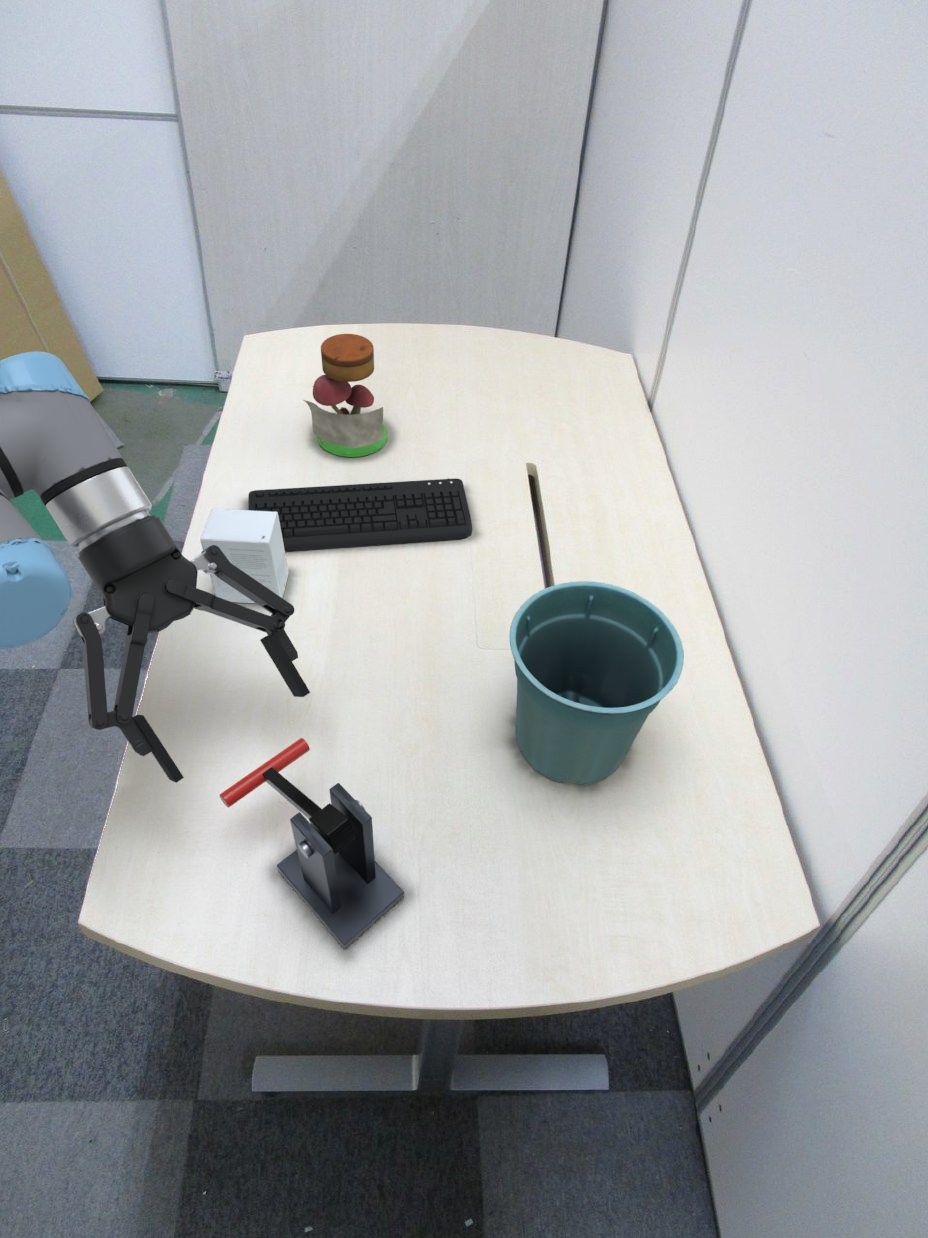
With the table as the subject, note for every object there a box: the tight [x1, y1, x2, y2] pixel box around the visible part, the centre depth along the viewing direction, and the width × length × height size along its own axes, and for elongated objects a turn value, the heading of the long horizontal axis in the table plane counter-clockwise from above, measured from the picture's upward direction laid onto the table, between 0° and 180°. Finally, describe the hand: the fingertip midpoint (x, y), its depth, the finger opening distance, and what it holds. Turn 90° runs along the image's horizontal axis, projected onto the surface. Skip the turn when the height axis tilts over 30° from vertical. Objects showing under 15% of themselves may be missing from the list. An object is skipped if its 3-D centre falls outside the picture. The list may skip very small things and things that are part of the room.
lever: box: [219, 737, 356, 854], centre depth 69 cm, size 13×9×2 cm
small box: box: [199, 507, 290, 604], centre depth 94 cm, size 8×6×10 cm
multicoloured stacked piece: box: [302, 333, 388, 458], centre depth 115 cm, size 12×13×15 cm
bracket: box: [276, 782, 405, 950], centre depth 68 cm, size 10×7×13 cm
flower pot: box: [508, 580, 685, 786], centre depth 80 cm, size 16×16×16 cm
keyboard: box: [247, 478, 473, 553], centre depth 107 cm, size 30×11×2 cm, turn 99°
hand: (242, 735), depth 73 cm, fingers open, 13 cm apart
